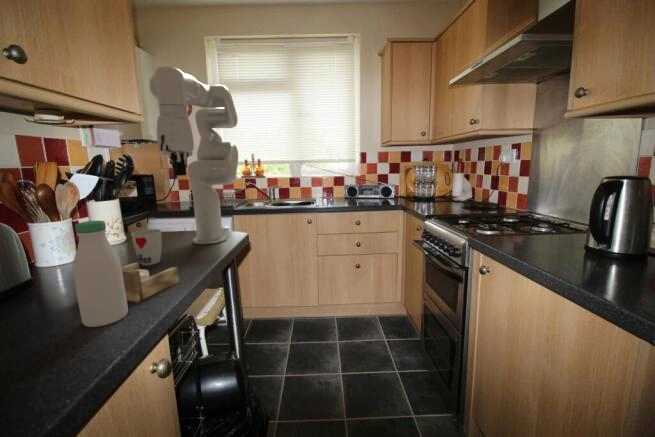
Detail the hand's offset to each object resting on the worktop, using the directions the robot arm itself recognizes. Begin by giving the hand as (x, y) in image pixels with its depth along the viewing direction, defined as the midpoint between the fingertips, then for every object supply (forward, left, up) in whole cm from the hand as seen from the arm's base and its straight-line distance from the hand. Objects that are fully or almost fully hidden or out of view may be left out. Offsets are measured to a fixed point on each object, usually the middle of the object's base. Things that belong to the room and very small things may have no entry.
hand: (180, 175), depth 95 cm
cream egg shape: (+23, +4, -27) cm, 36 cm away
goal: (+22, +4, -27) cm, 35 cm away
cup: (+6, -10, -27) cm, 30 cm away
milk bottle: (+36, +12, -27) cm, 47 cm away
